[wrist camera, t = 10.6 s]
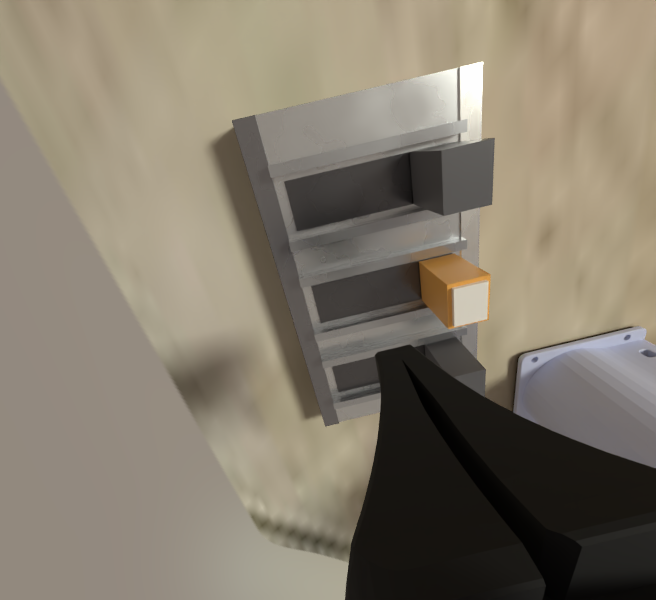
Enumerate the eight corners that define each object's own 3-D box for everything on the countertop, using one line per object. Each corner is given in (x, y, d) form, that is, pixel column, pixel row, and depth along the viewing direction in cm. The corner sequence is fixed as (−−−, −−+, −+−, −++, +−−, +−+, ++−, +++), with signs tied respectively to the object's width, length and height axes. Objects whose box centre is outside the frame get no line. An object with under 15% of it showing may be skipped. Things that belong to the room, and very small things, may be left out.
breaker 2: (455, 335, 19) (485, 369, 16) (455, 365, 20) (484, 402, 17) (424, 343, 19) (448, 378, 16) (426, 372, 20) (450, 410, 17)
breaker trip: (454, 253, 16) (493, 276, 13) (455, 292, 17) (491, 321, 14) (418, 261, 16) (449, 286, 13) (421, 300, 17) (450, 331, 14)
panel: (463, 71, 14) (491, 57, 12) (464, 375, 22) (480, 396, 21) (238, 124, 14) (229, 118, 12) (323, 409, 22) (326, 433, 20)
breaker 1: (451, 142, 14) (494, 137, 11) (452, 195, 15) (491, 204, 12) (409, 152, 14) (441, 150, 11) (413, 204, 15) (443, 215, 12)
